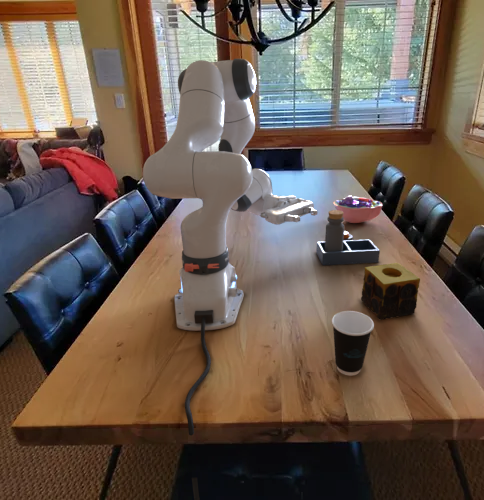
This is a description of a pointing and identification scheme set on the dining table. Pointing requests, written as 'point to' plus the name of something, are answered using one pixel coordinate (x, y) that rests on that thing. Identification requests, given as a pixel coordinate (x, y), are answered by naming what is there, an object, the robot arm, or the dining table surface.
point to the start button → (346, 234)
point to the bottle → (334, 231)
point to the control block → (349, 237)
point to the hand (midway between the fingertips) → (307, 216)
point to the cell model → (358, 209)
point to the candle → (390, 290)
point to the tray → (349, 253)
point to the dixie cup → (351, 340)
